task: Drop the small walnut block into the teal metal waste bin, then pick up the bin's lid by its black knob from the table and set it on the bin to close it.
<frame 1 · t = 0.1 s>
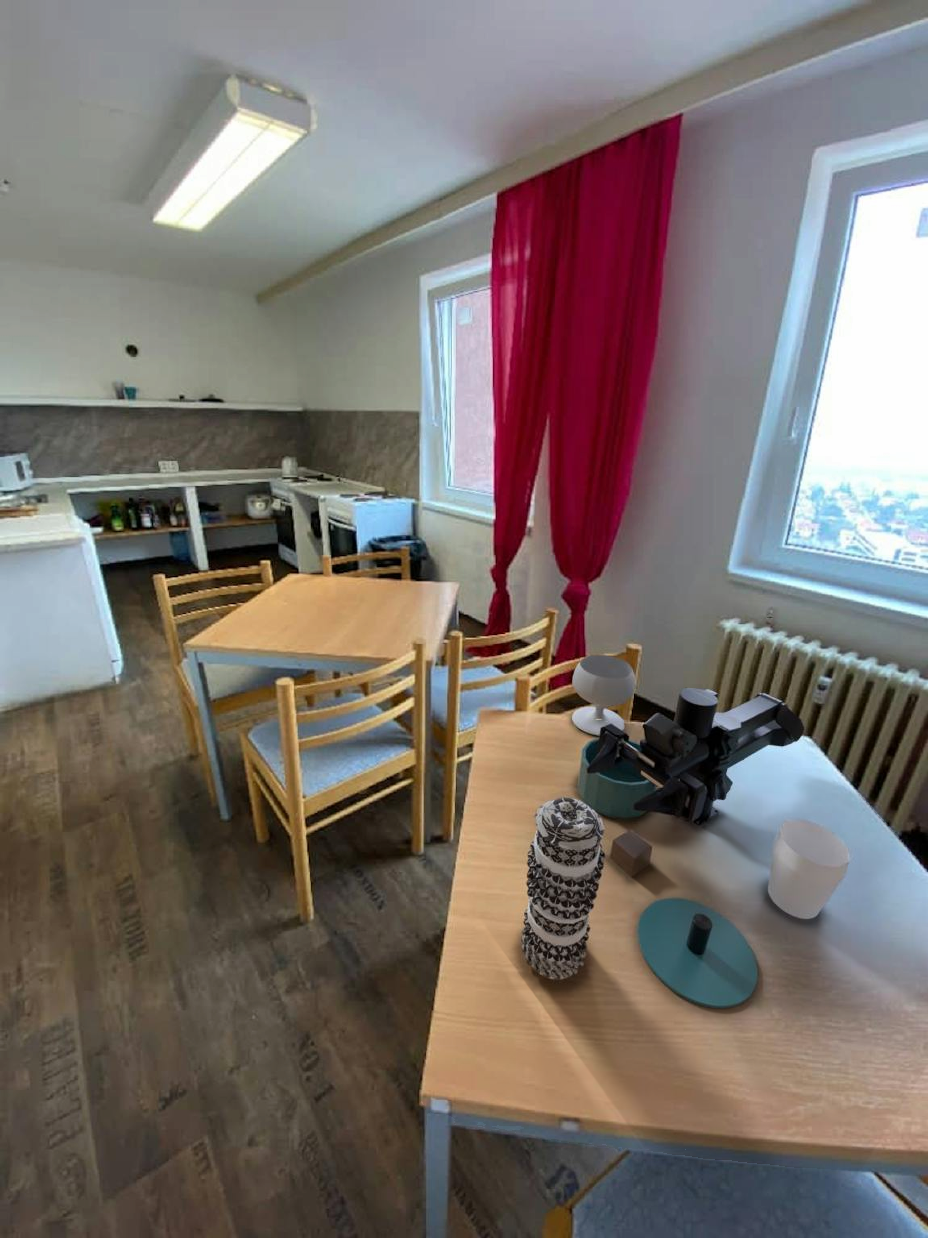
hand: (609, 788, 78), 17 cm above the table, tool horizontal, fingers open, 9 cm apart
cup: (791, 902, 79), on the table
chalice: (597, 722, 123), on the table
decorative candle: (552, 956, 71), on the table
bin: (614, 792, 101), on the table
block: (628, 863, 85), on the table
bin lid: (694, 949, 71), point 1 cm above the table
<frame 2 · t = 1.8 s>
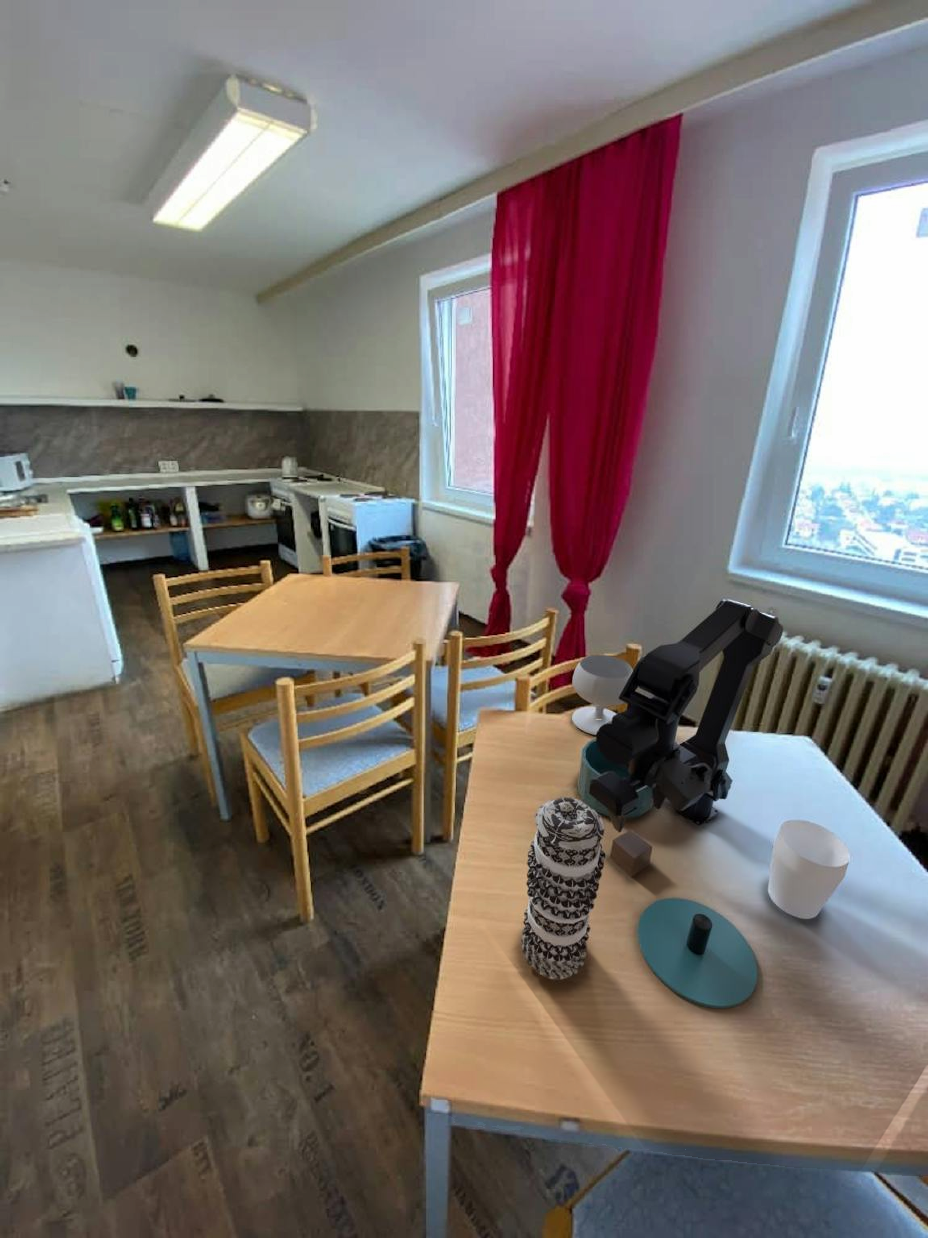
hand: (637, 818, 82), 10 cm above the table, tool pointing down, fingers open, 9 cm apart
nothing on the table moved.
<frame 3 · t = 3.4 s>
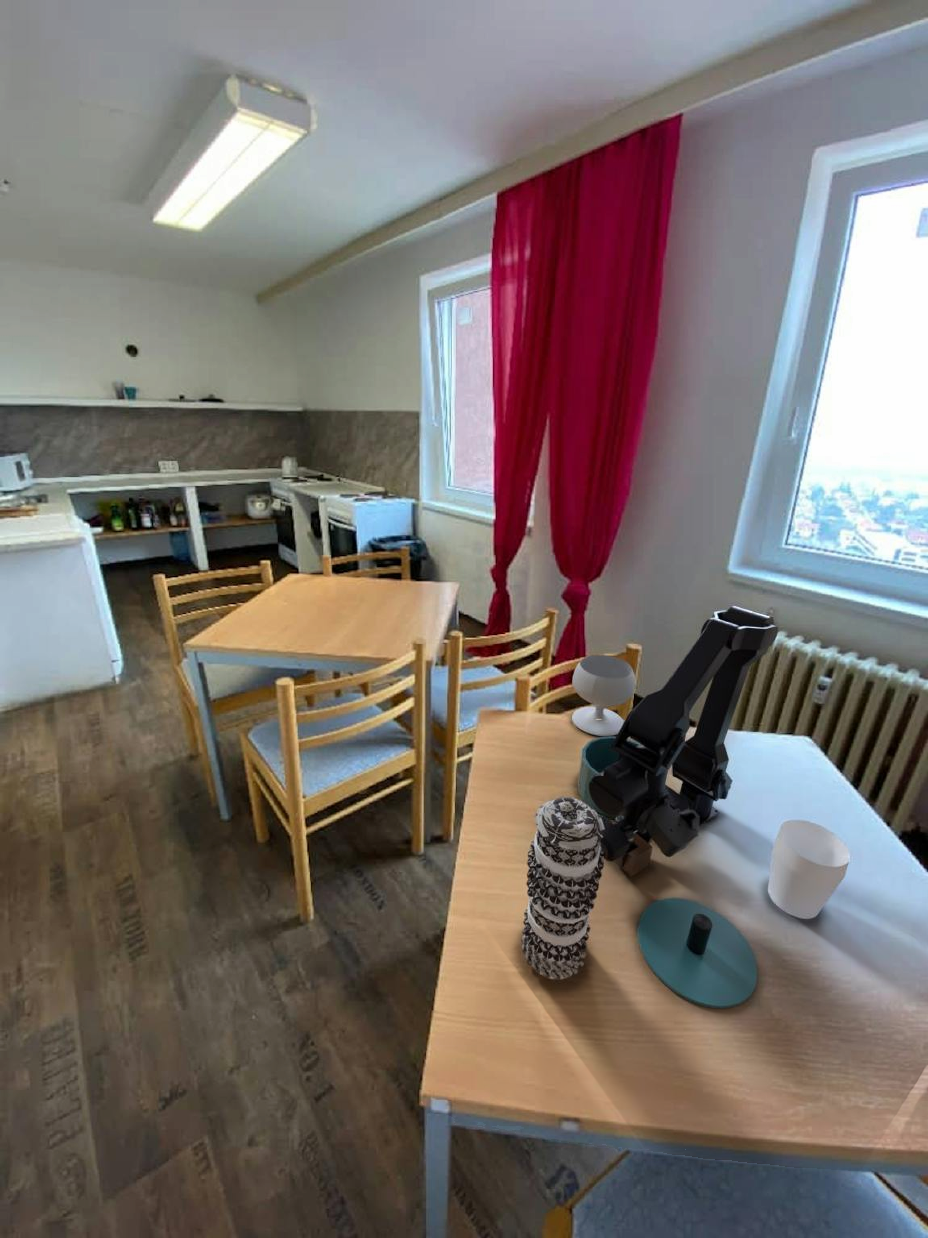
hand: (629, 859, 85), 1 cm above the table, tool pointing down, fingers closed on block, 4 cm apart
block: (628, 863, 85), on the table, touching gripper
everything else where it was.
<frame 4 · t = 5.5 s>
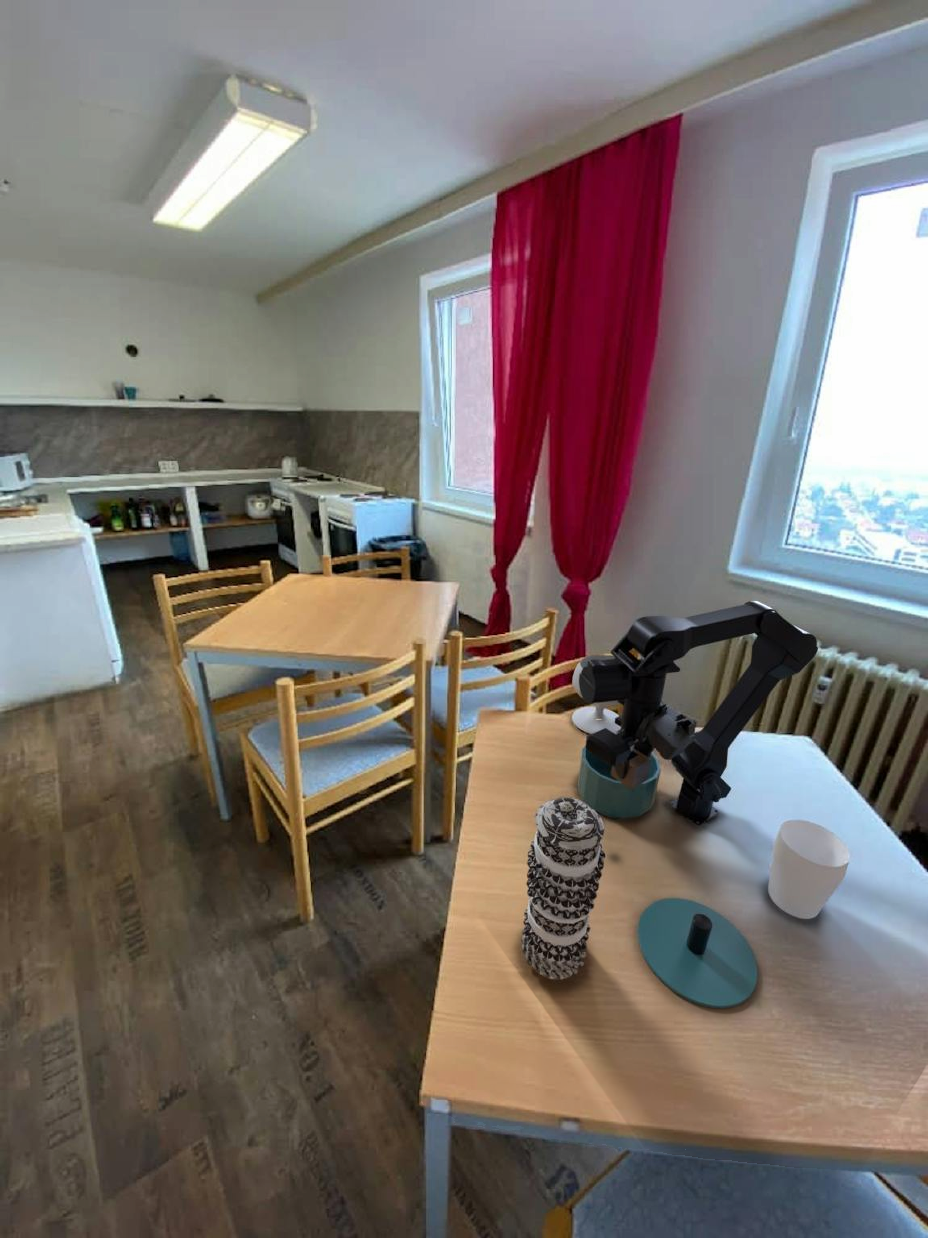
hand: (629, 773, 90), 11 cm above the table, tool pointing down, fingers closed on block, 4 cm apart
block: (628, 777, 90), point 10 cm above the table, touching gripper
everything else where it was.
when the fingers open (7 cm above the table, at t = 7.7 s): block drops 5 cm, resting on bin.
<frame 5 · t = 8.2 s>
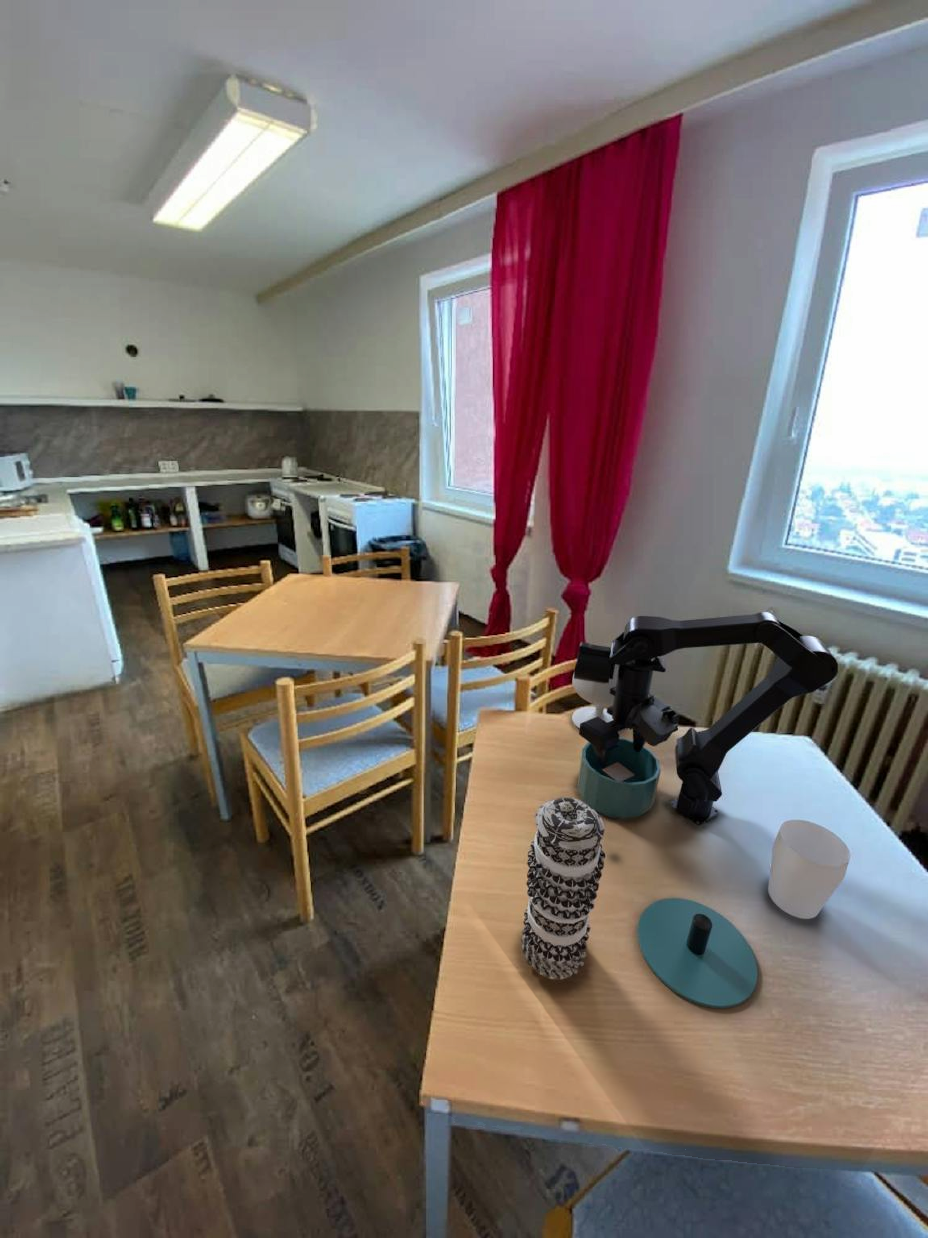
hand: (620, 759, 98), 8 cm above the table, tool pointing down, fingers open, 9 cm apart
block: (615, 790, 101), resting on bin
everything else where it was.
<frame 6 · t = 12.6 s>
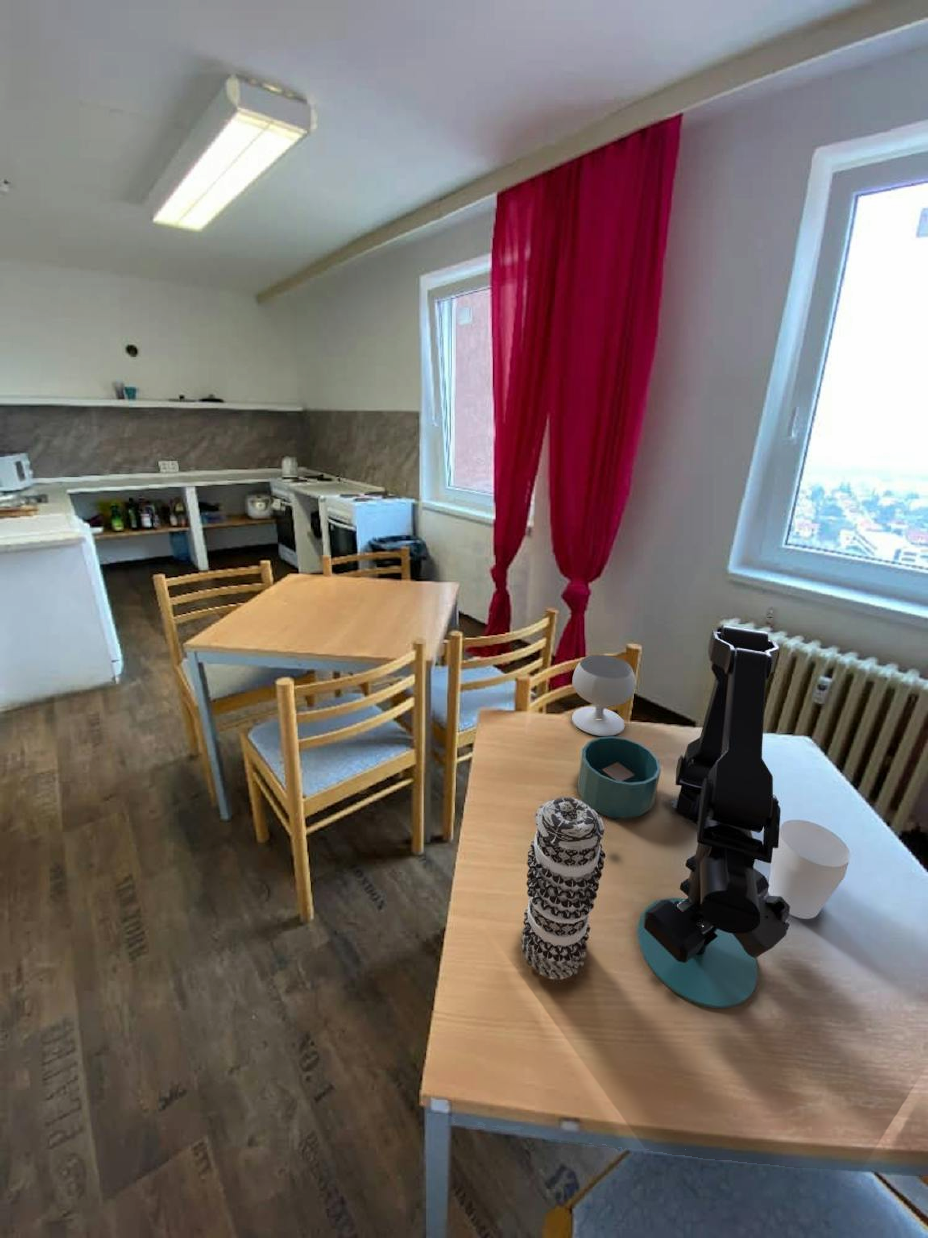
hand: (695, 946, 71), 1 cm above the table, tool pointing down, fingers closed on bin lid, 2 cm apart
bin lid: (694, 949, 71), point 1 cm above the table, touching gripper
everything else where it was.
when the fingers open (9 cm above the table, at t = 17.9 s): bin lid stays where it is, resting on bin.
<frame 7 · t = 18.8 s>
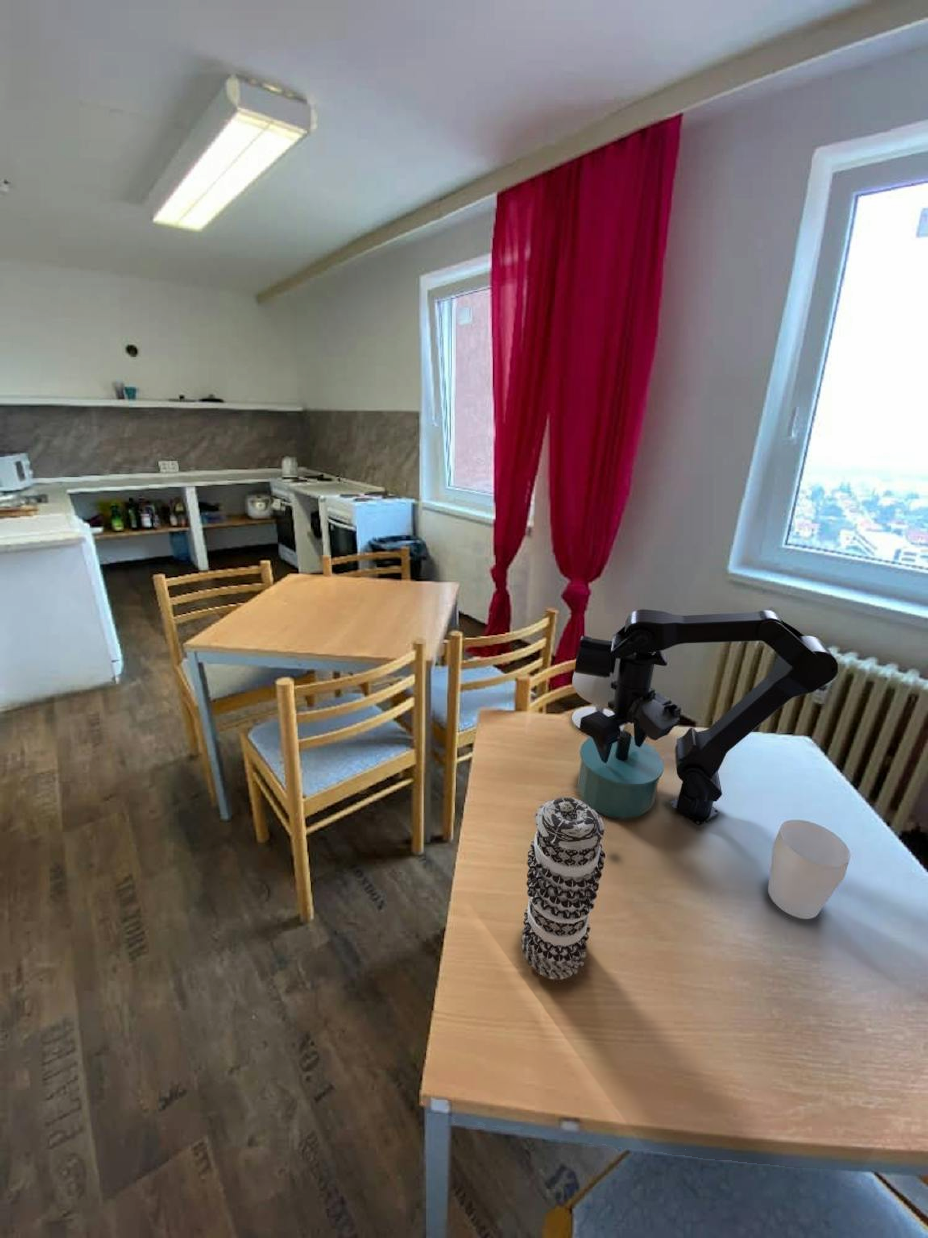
hand: (621, 753, 97), 9 cm above the table, tool pointing down, fingers open, 9 cm apart
bin lid: (620, 758, 98), point 8 cm above the table, touching bin
everything else where it was.
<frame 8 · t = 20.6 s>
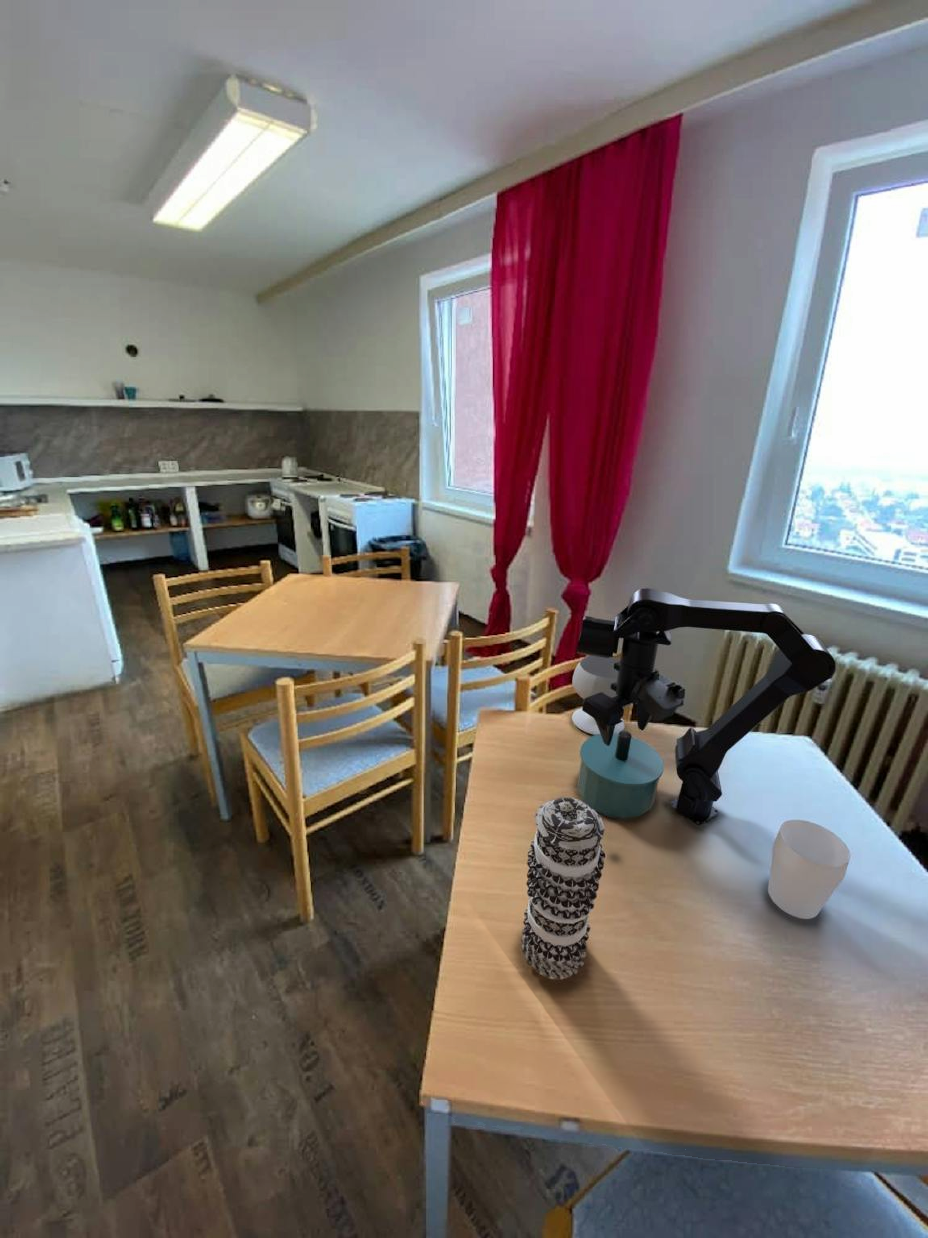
hand: (624, 736, 96), 13 cm above the table, tool pointing down, fingers open, 9 cm apart
nothing on the table moved.
at the end: block inside the target area in the bin (0.0 cm from its centre), point 0.5 cm above the bin's base; bin lid 0.1 cm off-centre on the bin, point 8.0 cm above the bin's base; bin lid tilted 0° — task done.
